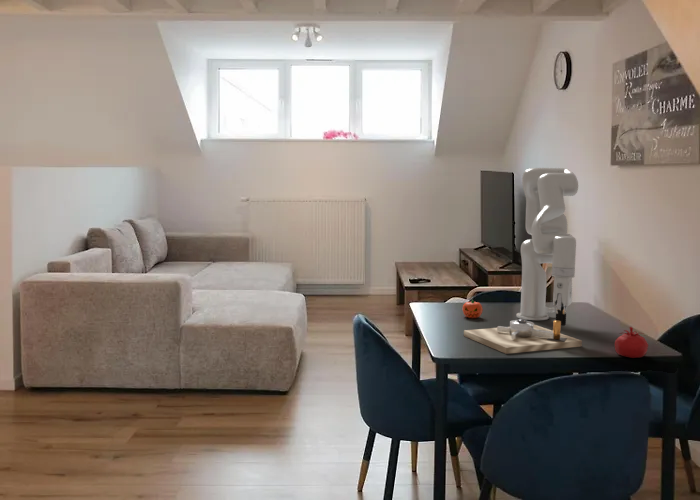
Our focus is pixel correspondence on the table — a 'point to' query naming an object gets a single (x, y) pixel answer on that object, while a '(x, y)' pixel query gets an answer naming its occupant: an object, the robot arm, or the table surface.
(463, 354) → the table surface
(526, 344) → the wooden board
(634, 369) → the table surface
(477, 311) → the pumpkin
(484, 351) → the table surface
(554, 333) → the cylinder
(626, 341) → the pomegranate
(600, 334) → the table surface
